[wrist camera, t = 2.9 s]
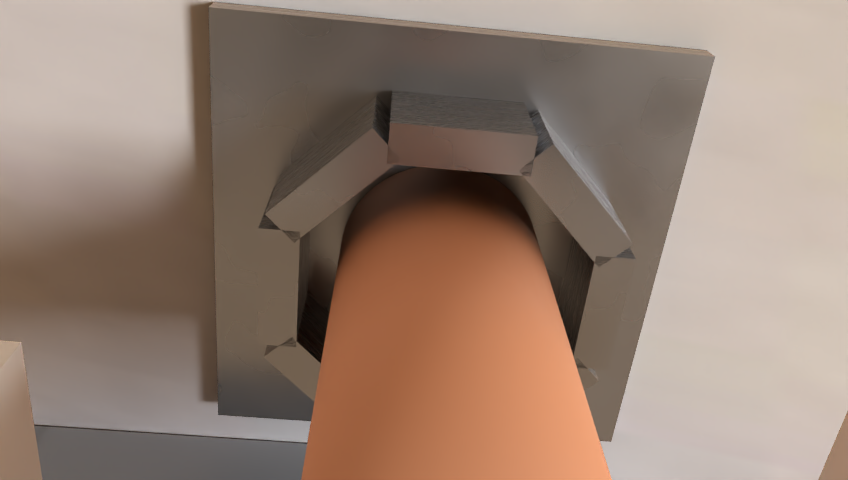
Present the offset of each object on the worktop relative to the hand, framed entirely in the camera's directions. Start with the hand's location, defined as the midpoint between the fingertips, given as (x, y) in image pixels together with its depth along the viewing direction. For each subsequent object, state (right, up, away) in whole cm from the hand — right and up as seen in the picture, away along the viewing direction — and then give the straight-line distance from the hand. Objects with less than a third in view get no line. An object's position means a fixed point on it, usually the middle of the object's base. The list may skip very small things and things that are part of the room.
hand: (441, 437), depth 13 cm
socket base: (0, +3, +5) cm, 6 cm away
